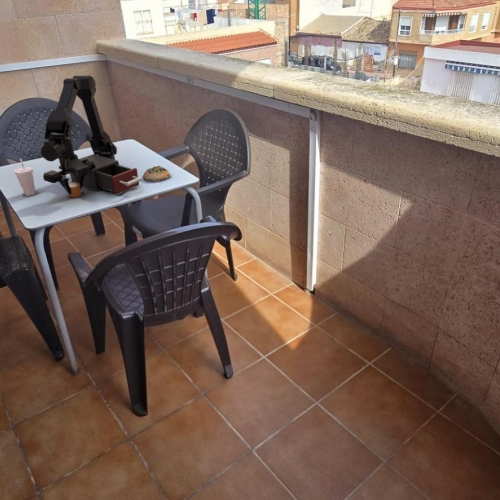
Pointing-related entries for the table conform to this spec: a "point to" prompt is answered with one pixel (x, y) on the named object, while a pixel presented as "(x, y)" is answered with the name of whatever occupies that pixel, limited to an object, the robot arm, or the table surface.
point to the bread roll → (156, 174)
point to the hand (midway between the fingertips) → (75, 192)
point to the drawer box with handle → (90, 177)
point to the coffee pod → (75, 189)
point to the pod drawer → (117, 178)
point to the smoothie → (26, 179)
